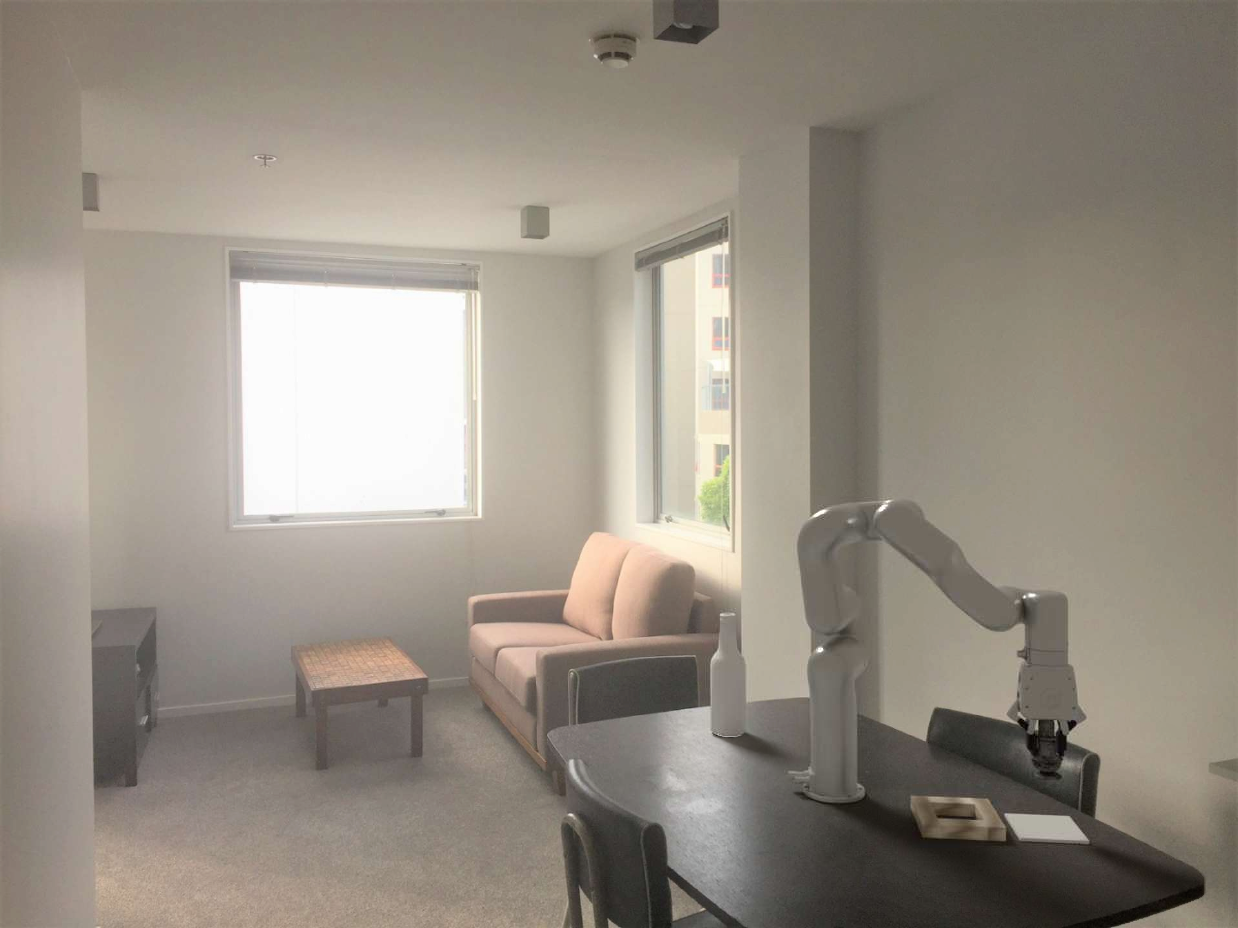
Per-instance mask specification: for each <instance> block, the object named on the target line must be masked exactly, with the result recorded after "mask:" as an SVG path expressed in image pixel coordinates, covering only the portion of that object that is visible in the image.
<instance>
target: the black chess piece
mask: <svg viewBox="0 0 1238 928" xmlns="http://www.w3.org/2000/svg"><path fill="white" fill-rule="evenodd" d="M1037 723H1038V724H1037V734H1036V735H1037V755H1036V756H1033V755H1032V754H1031V753H1030V754H1029V758H1030V760H1031V763H1032V766H1033V767H1034V768H1035V770H1033V771H1032V772H1031V773H1030V775H1031V776H1032V777H1033V778H1035V779H1037V780H1038V779H1039V780H1042V781H1048V782H1049V781H1050V782H1051V781H1053V782H1054V781H1059V780H1061V779H1062V777H1063V776H1062V775H1061V774H1060V773H1058V772H1057V771H1058V770H1059V769H1060V768H1061V766H1062V762H1063V761H1064V757H1061V756H1059V755H1058V754H1057V753H1056V750H1055V740H1056V739H1057V737H1056V736H1055V732H1056V729H1055V727H1056V726H1055V725H1056V724H1055V720H1037Z"/></svg>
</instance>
